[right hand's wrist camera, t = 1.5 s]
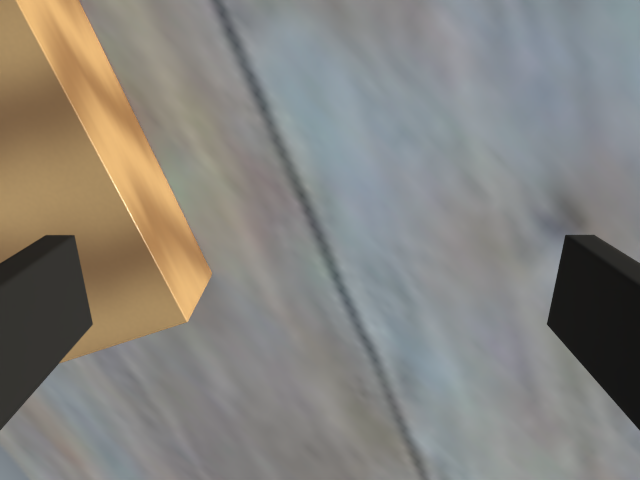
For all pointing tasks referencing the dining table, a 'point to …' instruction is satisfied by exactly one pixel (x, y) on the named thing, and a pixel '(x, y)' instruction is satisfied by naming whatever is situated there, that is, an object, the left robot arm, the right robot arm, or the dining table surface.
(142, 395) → the dining table surface
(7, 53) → the thick board
